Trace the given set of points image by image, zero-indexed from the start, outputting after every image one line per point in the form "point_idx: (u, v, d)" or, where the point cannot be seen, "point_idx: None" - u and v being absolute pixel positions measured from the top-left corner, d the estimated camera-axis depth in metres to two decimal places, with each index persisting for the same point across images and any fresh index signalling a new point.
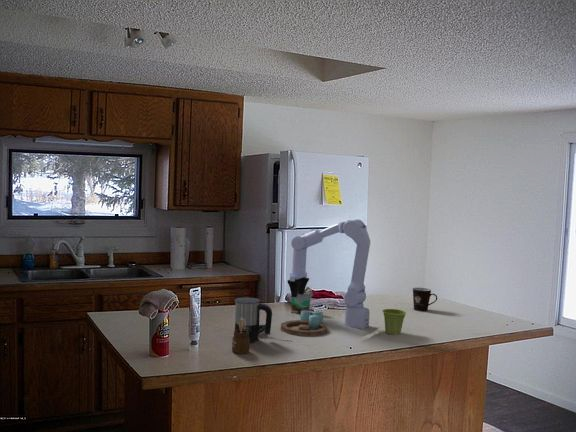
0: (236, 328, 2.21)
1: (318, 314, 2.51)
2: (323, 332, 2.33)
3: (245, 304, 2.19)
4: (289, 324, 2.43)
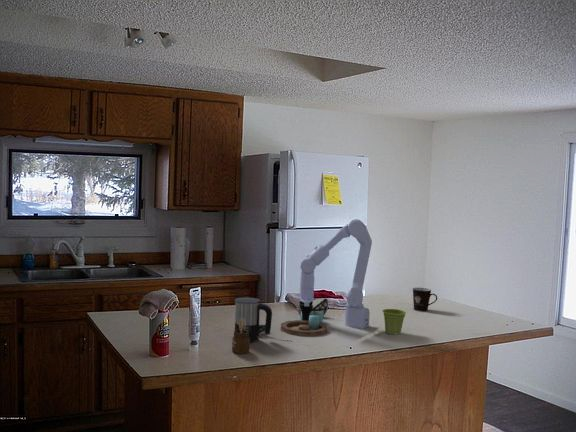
0: (236, 328, 2.21)
1: (318, 314, 2.51)
2: (323, 332, 2.33)
3: (245, 304, 2.19)
4: (289, 324, 2.43)
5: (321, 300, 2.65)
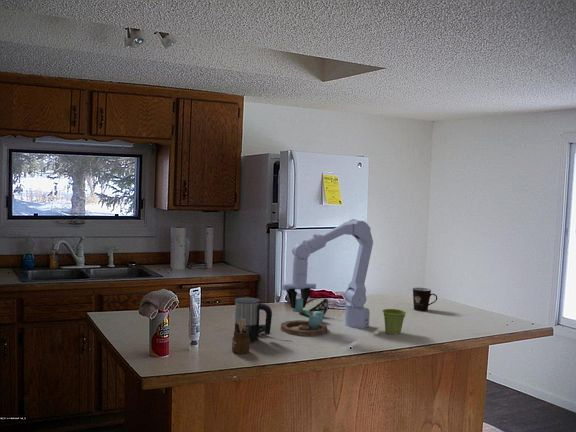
0: (236, 328, 2.21)
1: (318, 314, 2.51)
2: (323, 332, 2.33)
3: (245, 304, 2.19)
4: (289, 324, 2.43)
5: (321, 300, 2.65)
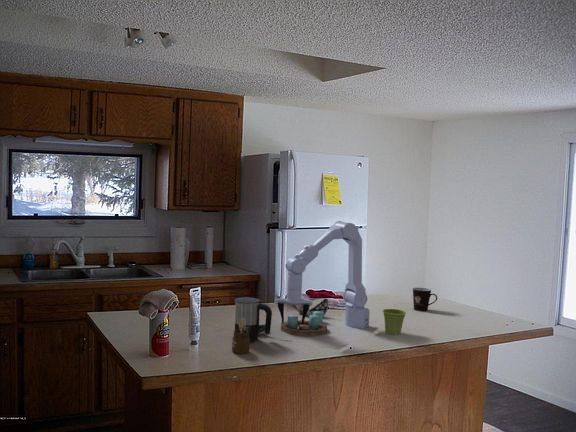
0: (236, 328, 2.22)
1: (318, 314, 2.51)
2: (323, 332, 2.33)
3: (245, 304, 2.19)
4: None
5: (321, 300, 2.65)
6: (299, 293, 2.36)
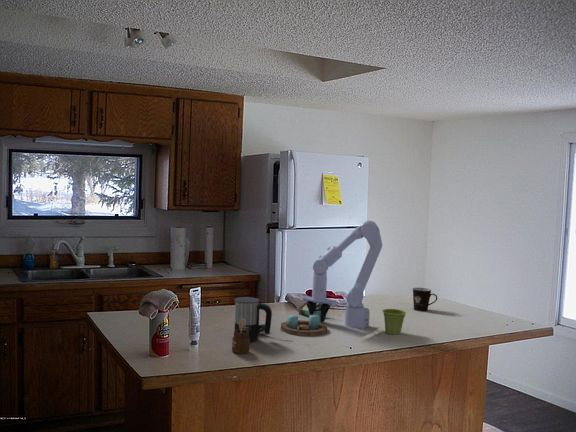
0: (236, 327, 2.22)
1: (318, 314, 2.51)
2: (323, 332, 2.33)
3: (245, 304, 2.19)
4: None
5: None
6: (321, 293, 2.49)
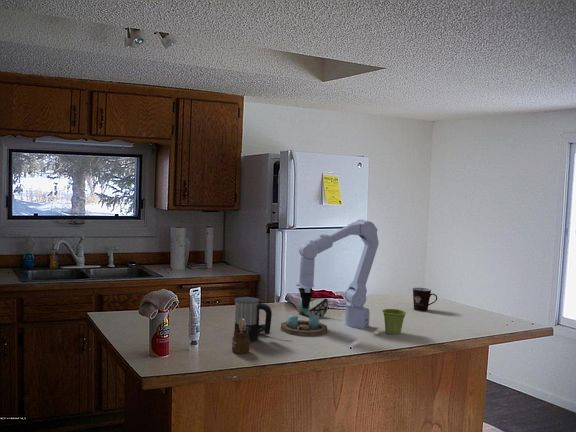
0: (236, 327, 2.22)
1: None
2: (323, 332, 2.33)
3: (245, 304, 2.19)
4: None
5: (321, 300, 2.65)
6: None
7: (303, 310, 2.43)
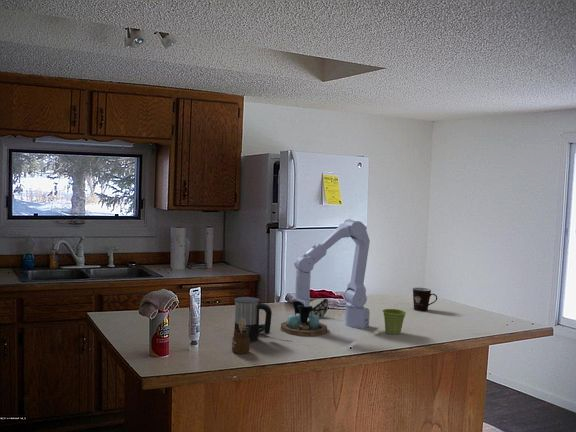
0: (236, 327, 2.22)
1: None
2: (323, 332, 2.33)
3: (244, 303, 2.20)
4: None
5: (321, 300, 2.65)
6: None
7: None
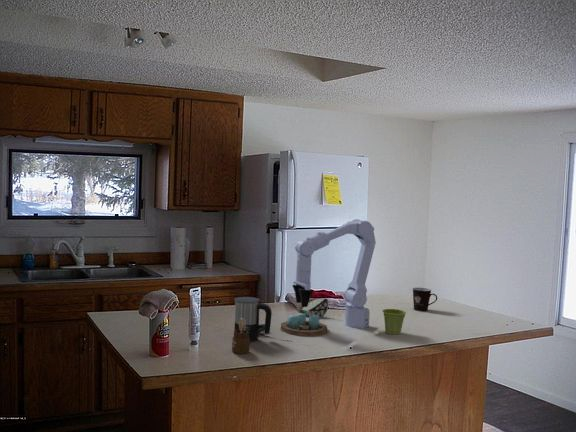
0: (236, 327, 2.22)
1: None
2: (323, 332, 2.33)
3: (244, 303, 2.20)
4: None
5: (321, 300, 2.65)
6: None
7: None
